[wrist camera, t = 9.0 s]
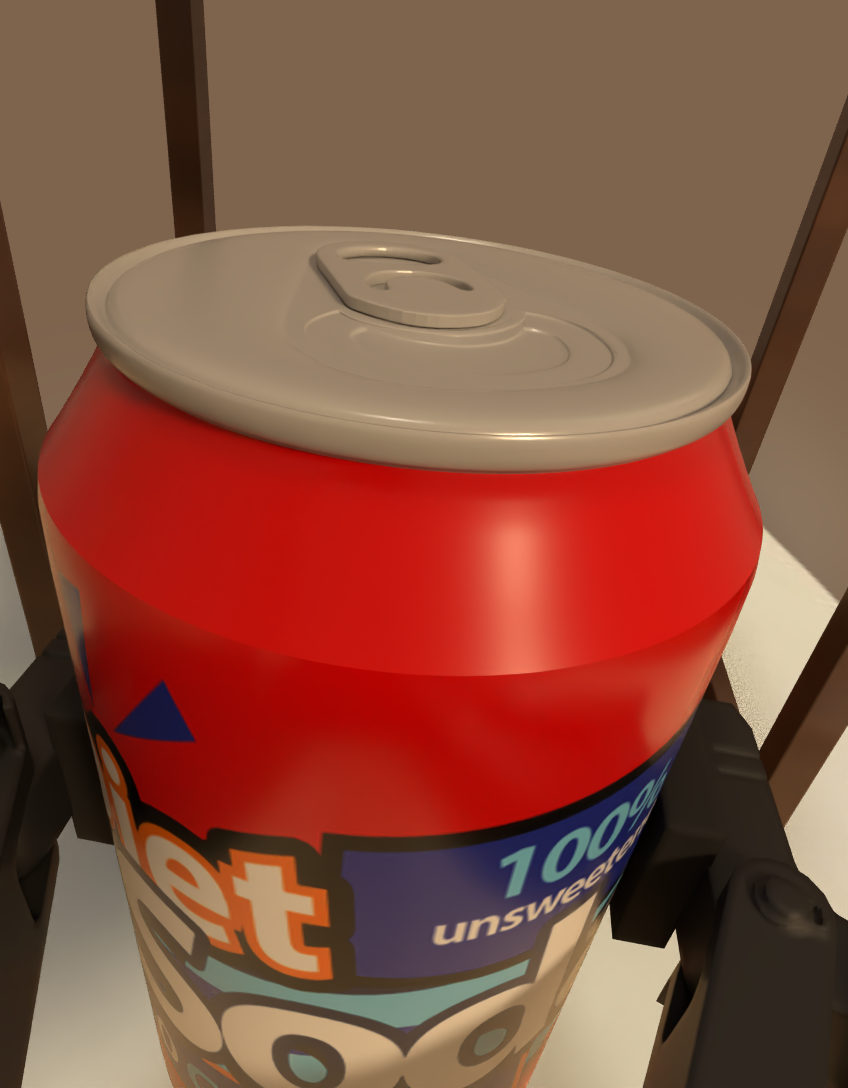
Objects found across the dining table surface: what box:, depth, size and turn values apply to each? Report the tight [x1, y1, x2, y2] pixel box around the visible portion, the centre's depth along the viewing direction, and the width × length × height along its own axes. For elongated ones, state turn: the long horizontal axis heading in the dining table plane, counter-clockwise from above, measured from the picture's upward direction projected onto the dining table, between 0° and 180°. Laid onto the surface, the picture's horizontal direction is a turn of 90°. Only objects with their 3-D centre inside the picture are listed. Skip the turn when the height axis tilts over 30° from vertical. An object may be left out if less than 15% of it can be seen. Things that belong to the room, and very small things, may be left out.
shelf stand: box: [0, 0, 848, 828], centre depth 24 cm, size 14×24×30 cm, turn 83°
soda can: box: [38, 226, 763, 1088], centre depth 12 cm, size 8×8×15 cm
